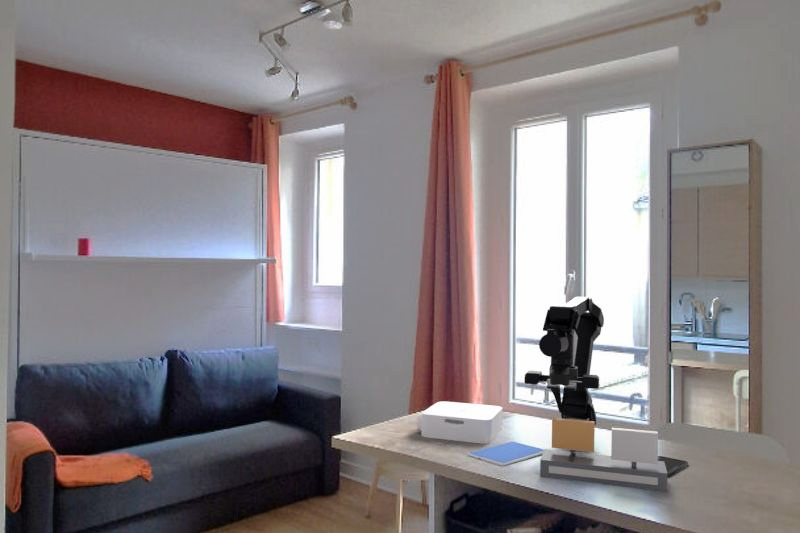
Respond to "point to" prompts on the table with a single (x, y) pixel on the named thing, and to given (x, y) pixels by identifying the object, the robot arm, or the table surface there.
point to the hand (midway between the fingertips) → (561, 412)
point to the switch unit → (602, 470)
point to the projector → (461, 422)
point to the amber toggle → (573, 434)
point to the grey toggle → (634, 446)
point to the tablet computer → (507, 453)
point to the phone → (673, 465)
